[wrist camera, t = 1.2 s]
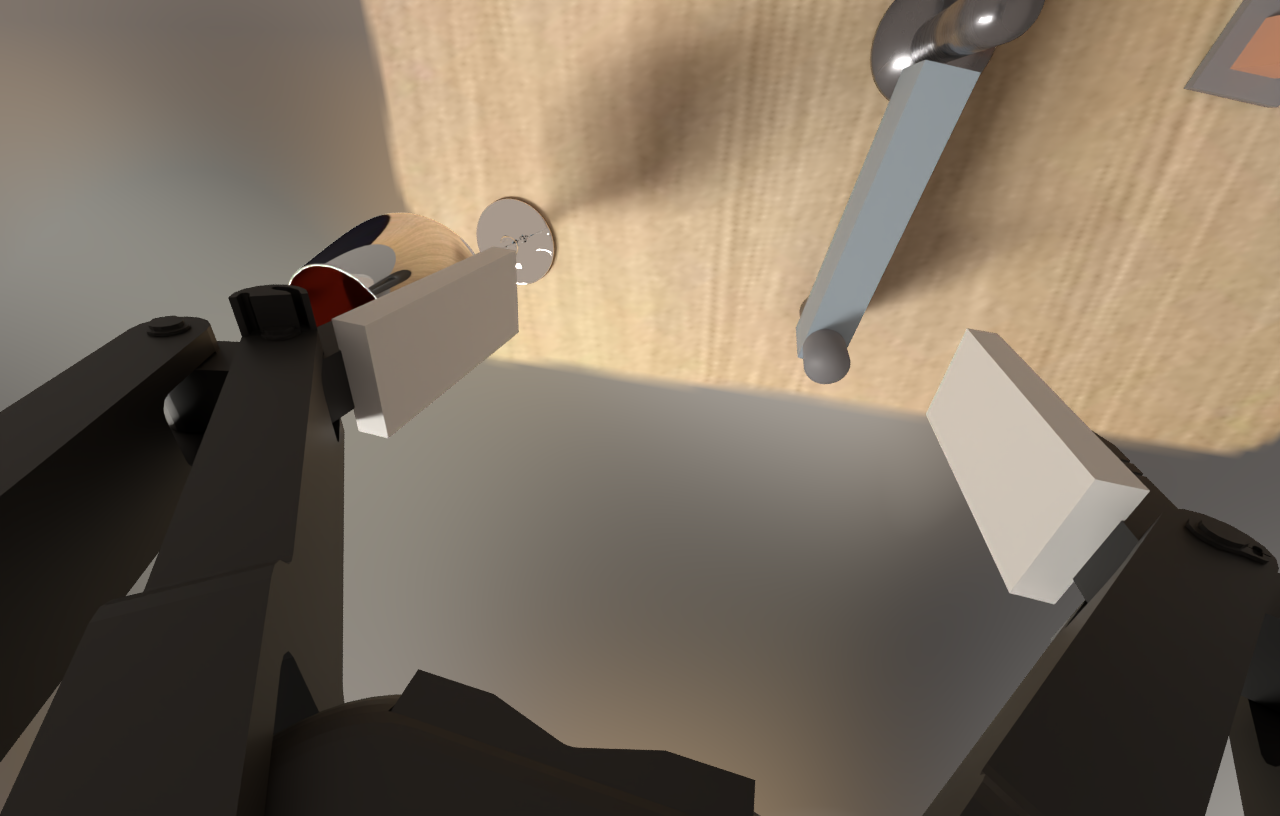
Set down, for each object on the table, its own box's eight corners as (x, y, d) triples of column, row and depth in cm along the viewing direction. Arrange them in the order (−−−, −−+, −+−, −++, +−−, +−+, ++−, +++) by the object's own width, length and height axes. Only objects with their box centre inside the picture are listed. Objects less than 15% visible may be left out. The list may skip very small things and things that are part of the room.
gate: (896, 71, 27) (939, 53, 20) (940, 81, 27) (1000, 68, 20) (794, 321, 36) (797, 376, 28) (827, 331, 35) (839, 389, 28)
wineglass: (566, 301, 40) (433, 415, 25) (473, 288, 41) (293, 388, 26) (564, 190, 35) (401, 246, 20) (460, 180, 37) (236, 224, 22)
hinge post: (902, -41, 25) (969, -130, 16) (1022, -15, 25) (1162, -93, 16) (852, 94, 29) (884, 84, 19) (957, 120, 28) (1041, 122, 19)
